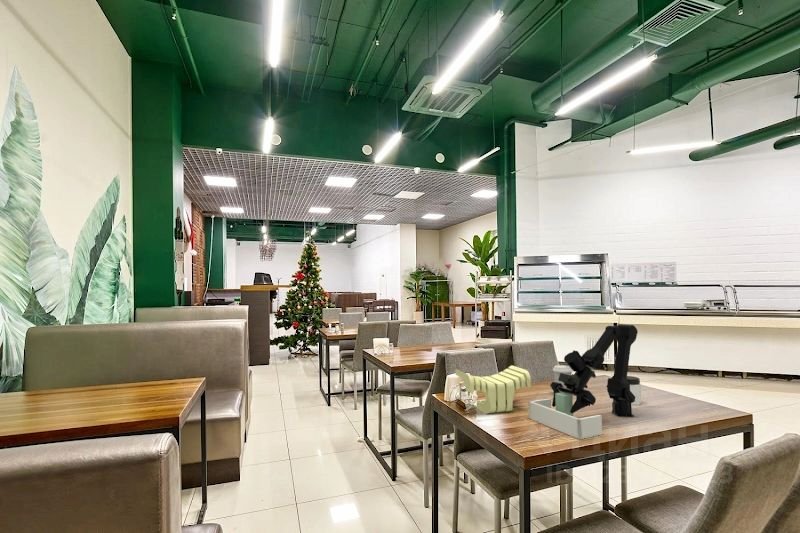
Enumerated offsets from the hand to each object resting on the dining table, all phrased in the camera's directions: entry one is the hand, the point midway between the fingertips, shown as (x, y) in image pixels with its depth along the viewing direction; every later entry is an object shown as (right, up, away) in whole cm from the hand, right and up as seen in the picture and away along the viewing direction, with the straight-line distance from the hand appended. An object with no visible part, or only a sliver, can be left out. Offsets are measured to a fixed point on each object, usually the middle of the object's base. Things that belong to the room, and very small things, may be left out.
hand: (561, 409), depth 152 cm
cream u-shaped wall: (+1, -7, 0) cm, 7 cm away
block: (+1, -7, 0) cm, 7 cm away
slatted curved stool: (-22, -9, +23) cm, 33 cm away
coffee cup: (+20, -10, +45) cm, 50 cm away
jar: (+47, -9, +31) cm, 57 cm away
